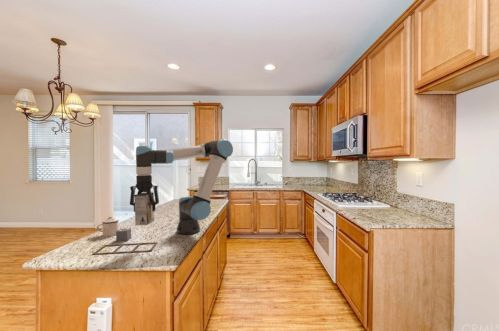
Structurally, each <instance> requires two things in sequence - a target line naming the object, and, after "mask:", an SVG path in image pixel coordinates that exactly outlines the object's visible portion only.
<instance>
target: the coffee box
mask: <svg viewBox="0 0 499 331" xmlns="http://www.w3.org/2000/svg"><path fill="white" fill-rule="evenodd" d="M151 194H152V196H153V198H154V199H155V195H154V191H153V192H152V191H151ZM134 202H135V212H134V219H135V220H134V222H135V223H134V226H148V225H150V224H151V223H152V222H154V221H155V216H154V217H153V218H151V205H152V203H151V201H150V194H147V192H142V193H141V194H137V193H135V196H134Z"/></svg>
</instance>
